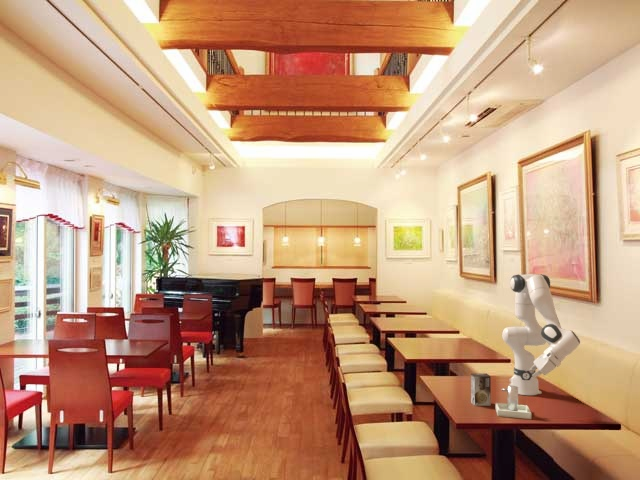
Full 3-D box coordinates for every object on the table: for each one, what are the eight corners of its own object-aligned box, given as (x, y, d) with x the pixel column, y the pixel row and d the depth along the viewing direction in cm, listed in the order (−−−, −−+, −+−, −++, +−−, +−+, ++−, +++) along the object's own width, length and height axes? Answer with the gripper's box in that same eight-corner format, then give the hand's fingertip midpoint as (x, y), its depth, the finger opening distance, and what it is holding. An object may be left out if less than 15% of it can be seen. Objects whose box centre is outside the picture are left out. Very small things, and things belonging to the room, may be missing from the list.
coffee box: (486, 402, 281) (486, 373, 281) (491, 405, 274) (491, 376, 275) (470, 402, 280) (470, 373, 281) (474, 405, 274) (474, 376, 274)
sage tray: (495, 408, 270) (495, 402, 270) (527, 411, 266) (527, 405, 266) (497, 416, 257) (497, 410, 257) (531, 419, 253) (531, 413, 254)
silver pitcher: (500, 409, 266) (500, 384, 266) (517, 410, 264) (517, 385, 264) (501, 412, 261) (501, 387, 261) (518, 413, 259) (518, 388, 259)
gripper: (543, 348, 268) (523, 365, 271) (551, 356, 248) (530, 374, 251) (552, 357, 267) (532, 374, 269) (561, 365, 247) (539, 384, 250)
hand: (531, 374), depth 260 cm, fingers open, 8 cm apart
